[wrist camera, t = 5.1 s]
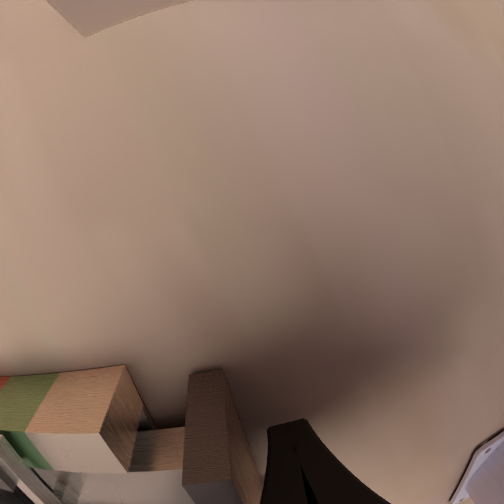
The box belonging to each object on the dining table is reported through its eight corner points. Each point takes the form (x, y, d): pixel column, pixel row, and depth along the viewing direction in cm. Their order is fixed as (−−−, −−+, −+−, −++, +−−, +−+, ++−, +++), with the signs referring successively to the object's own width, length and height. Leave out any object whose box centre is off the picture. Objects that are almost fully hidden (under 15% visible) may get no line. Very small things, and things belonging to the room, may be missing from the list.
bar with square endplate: (216, 348, 9) (221, 459, 5) (258, 473, 10) (274, 557, 6) (19, 376, 8) (-33, 451, 4) (97, 486, 10) (81, 556, 6)
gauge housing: (124, 364, 9) (83, 480, 4) (192, 487, 11) (194, 576, 6) (-22, 377, 8) (-77, 445, 4) (57, 486, 10) (36, 553, 6)
